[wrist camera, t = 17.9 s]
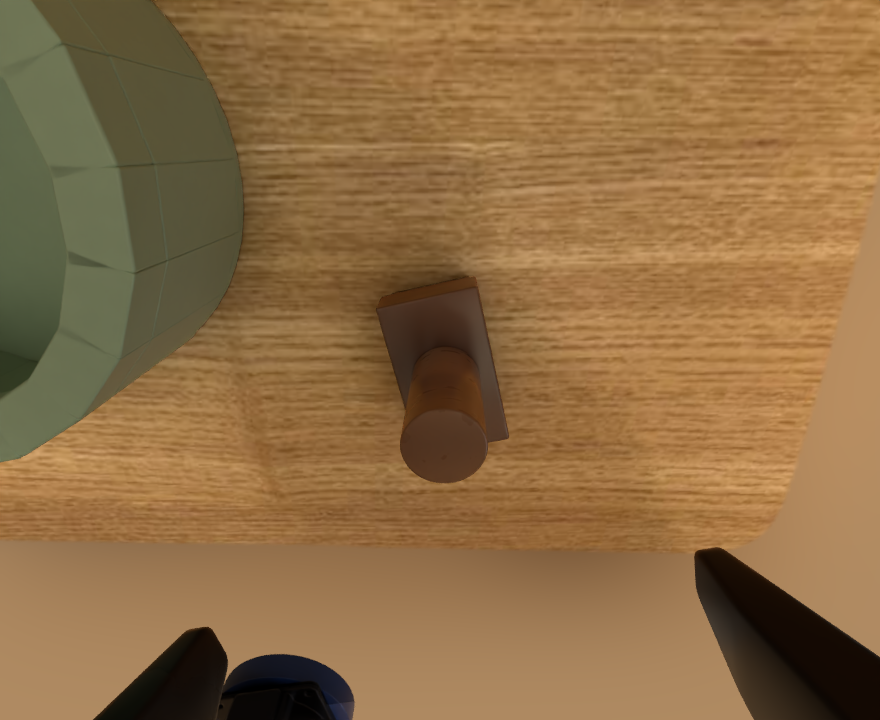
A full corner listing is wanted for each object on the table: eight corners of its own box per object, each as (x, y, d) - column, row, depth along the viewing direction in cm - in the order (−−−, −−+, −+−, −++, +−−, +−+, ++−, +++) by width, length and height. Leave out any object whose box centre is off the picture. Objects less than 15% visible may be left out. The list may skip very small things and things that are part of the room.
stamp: (503, 407, 21) (526, 522, 15) (422, 422, 21) (409, 541, 15) (474, 268, 19) (485, 333, 12) (384, 289, 19) (350, 361, 13)
